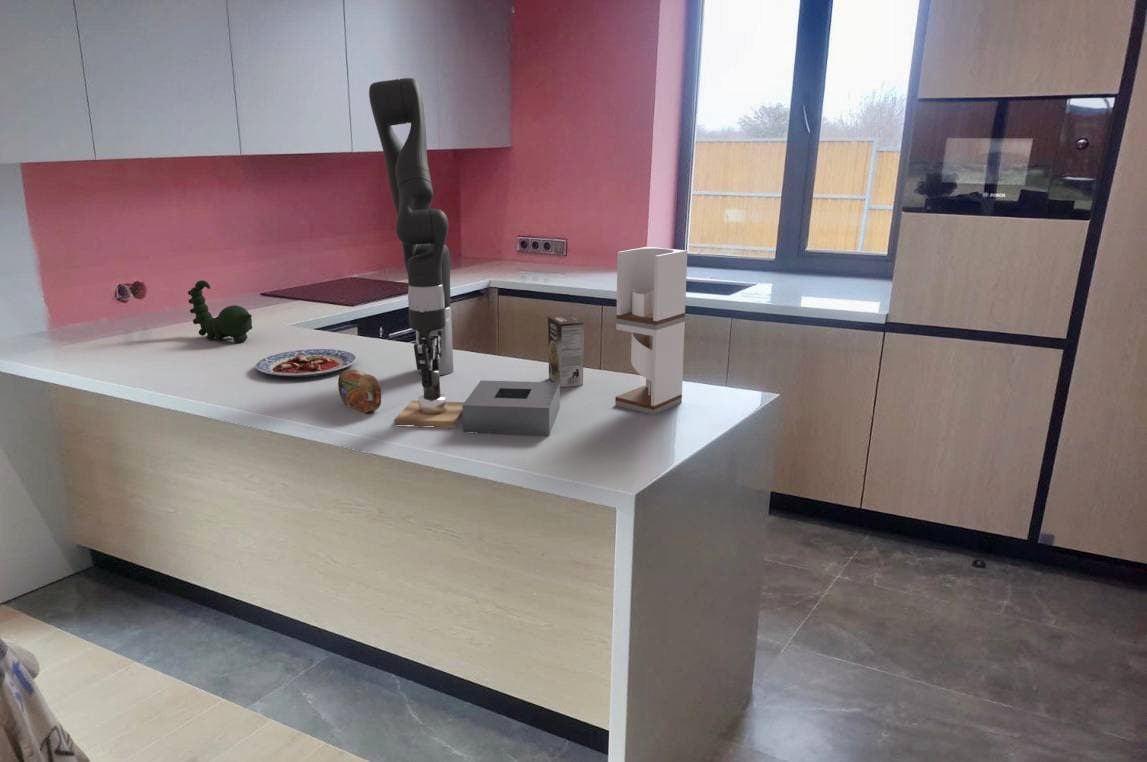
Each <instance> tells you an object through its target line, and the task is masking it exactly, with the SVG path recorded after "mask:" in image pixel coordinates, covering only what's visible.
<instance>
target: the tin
mask: <svg viewBox="0 0 1147 762" xmlns="http://www.w3.org/2000/svg"><path fill="white" fill-rule="evenodd" d="M337 382H338V383H337V387H338V393H339V396H340V398H341V401H342V403H343V404H344V405H346V404H347V405H349V406H351V407H350V408H352V407H353V408H352V409H354V408H355V410H357V409H358V410H357V411H359V410H360V411H359V412H361V411H363V412H362V413H364V412H365V414H366V413H369V412H375V411H377V410H378V409H379V408H380V406H381V404H382V389H381V385H380V383H379V381H378V379H377V378H376V377H375V376H374V375H372V374H369V373H366V372H363V371H360V370H357V369H344V370H342V371H340V374H339V376H338V381H337ZM347 405H346V406H347ZM349 406H348V407H349Z"/></svg>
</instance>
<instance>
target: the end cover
mask: <svg viewBox="0 0 1147 762" xmlns="http://www.w3.org/2000/svg"><path fill="white" fill-rule="evenodd" d="M440 376H441V375H439V370H438V369H432V377H433V386H432V387H423V386H422V387H423V388H422V389H423V390H422V391H423V394H422V395H419V396H418V399H417V401H418V402H419V412H420V413H421V414H425V415H437V414H441V413H444V412H446V411H447V403H446V402H447V396H446V395H445V394H443V393H441V380H440V379H441V378H440Z"/></svg>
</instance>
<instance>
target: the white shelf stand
mask: <svg viewBox="0 0 1147 762" xmlns="http://www.w3.org/2000/svg"><path fill="white" fill-rule="evenodd" d="M616 254H617V258H616V260H617V261H616V262H617V263H616V264H617V265H616V325H615V328H616V330H618V331H623V332H627V333H631V343H630V344H631V345H630V346H631V351H630V355H631V357H630V362H631V366H632V367H633V369H634V370H635V371H636V372H637V373H638V374H639V375H641V376H642V377H644V378H645V385H642V386H639V387H638V388H634V389H632V390H629V391H627V392H624V393H622V394H619V395H616V396H615V397H614V398H615V399H614V402H615V403H614V404H615V405H614V406H616V407H619V408H620V407H621V408H624V409H629V410H632V411H637V412H640V413H644V414H649V415H653V416H656V415H657V414H659V413H662V412H663V411H666V410H668V409H670V408H672V407H674V406H677V405H679V404H681V403H682V402H683V401H682V399H683V381H684V379H683V377H684V375H683V374H684V373H683V372H684V353H685V352H684V351H685V349H684V347H685V325H686V321H685V320H686V319H685V318H686V301H687V300H686V298H687V297H686V296H687V273H688V269H687V268H688V250H687V249H686V250H685V249H675V248H666V247H665V248H664V247H663V248H661V247H654V246H644V247H640V248H639V247H637V248H633V249H627V250H621V251H617V253H616Z"/></svg>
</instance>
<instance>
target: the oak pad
mask: <svg viewBox="0 0 1147 762" xmlns="http://www.w3.org/2000/svg"><path fill="white" fill-rule="evenodd" d="M464 402H465V401H463V402H462V401H446V403H447V411H446V412H444V413H441V414H437V415H425V414H421V413H420V412H419V402H418V400H411V401H410V402H409V403H408V404H407V406H406V407H404V408H403V410H401V412H399V414H398V415H397V416H396V417H395V418H394V420H393V422H394V426H395V425H414V426H434V427H433V428H435V427H452V428H451V429H455V428H456V427H457V425H458V424H459V423H460V421H461V420H462V419H463V410H462V405H463V404H464ZM460 419H461V420H460ZM458 422H459V423H458ZM457 423H458V424H457ZM455 426H456V427H455ZM453 427H454V428H453Z"/></svg>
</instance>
